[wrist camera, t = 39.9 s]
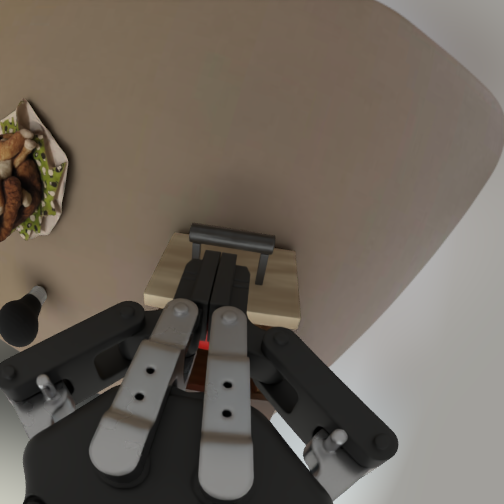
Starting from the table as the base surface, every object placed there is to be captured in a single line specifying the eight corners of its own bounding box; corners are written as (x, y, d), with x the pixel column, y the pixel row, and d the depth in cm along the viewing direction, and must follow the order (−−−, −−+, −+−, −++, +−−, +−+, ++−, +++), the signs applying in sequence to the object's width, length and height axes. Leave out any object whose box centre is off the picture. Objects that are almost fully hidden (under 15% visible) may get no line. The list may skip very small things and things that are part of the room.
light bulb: (25, 288, 37) (-10, 336, 28) (30, 264, 34) (-11, 314, 26) (55, 311, 38) (23, 362, 30) (63, 289, 36) (26, 344, 27)
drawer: (175, 189, 27) (139, 243, 19) (305, 209, 27) (317, 271, 20) (174, 329, 36) (156, 389, 29) (269, 344, 37) (266, 407, 29)
